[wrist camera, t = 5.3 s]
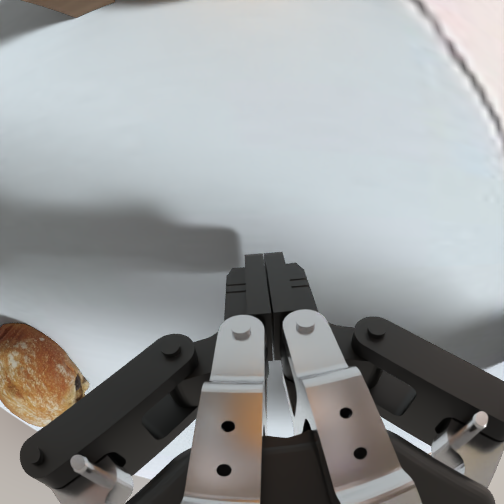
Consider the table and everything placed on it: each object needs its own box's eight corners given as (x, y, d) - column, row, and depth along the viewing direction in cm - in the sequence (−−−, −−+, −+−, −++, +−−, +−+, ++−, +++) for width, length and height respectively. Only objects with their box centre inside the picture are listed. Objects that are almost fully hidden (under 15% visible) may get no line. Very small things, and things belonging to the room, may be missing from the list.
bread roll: (97, 371, 23) (109, 439, 17) (17, 381, 19) (18, 446, 13) (65, 296, 18) (63, 375, 12) (-26, 311, 14) (-46, 383, 8)
